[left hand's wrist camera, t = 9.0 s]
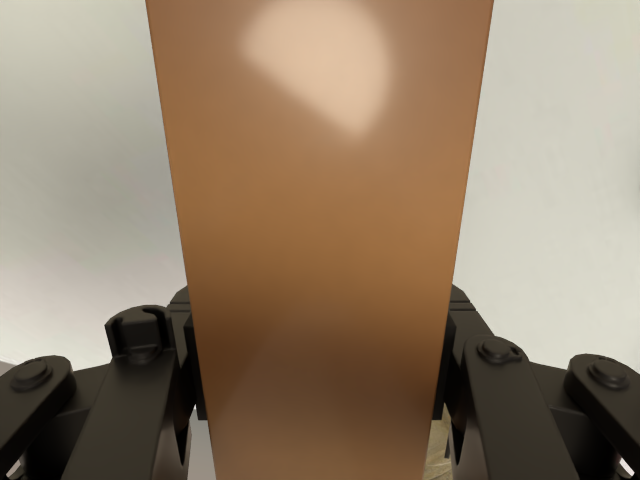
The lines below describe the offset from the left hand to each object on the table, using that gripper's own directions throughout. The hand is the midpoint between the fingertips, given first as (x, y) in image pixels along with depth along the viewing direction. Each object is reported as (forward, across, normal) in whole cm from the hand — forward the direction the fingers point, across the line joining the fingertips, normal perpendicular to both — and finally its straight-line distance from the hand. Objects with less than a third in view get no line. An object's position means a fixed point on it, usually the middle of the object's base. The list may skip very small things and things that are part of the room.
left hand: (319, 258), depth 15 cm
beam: (+1, 0, -20) cm, 20 cm away
